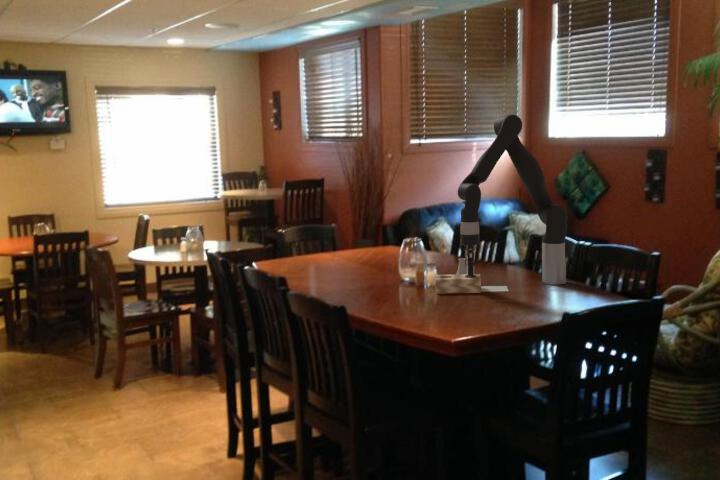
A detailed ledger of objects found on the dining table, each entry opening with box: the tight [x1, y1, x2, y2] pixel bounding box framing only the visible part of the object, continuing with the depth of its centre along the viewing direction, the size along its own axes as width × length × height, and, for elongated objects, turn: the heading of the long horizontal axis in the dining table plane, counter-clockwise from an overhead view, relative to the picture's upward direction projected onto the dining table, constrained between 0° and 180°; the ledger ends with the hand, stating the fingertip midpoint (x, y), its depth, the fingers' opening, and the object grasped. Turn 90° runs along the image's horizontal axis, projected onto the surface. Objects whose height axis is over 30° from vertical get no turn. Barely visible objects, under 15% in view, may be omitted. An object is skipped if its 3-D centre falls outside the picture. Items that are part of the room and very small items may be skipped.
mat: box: [481, 285, 509, 293], centre depth 294 cm, size 12×10×1 cm
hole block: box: [435, 273, 482, 295], centre depth 293 cm, size 18×10×6 cm, turn 83°
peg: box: [465, 257, 475, 278], centre depth 292 cm, size 3×3×10 cm
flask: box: [456, 257, 467, 274], centre depth 312 cm, size 7×7×10 cm
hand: (470, 274), depth 292 cm, fingers closed on peg, 3 cm apart
